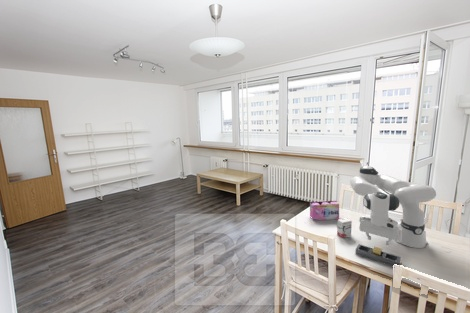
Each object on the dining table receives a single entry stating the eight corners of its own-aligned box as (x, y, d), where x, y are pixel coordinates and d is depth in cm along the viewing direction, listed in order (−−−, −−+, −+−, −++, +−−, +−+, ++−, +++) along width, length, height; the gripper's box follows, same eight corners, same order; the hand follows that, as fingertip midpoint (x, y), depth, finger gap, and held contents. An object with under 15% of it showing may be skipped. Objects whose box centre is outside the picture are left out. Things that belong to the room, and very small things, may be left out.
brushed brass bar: (372, 258, 134) (372, 249, 133) (374, 255, 137) (374, 246, 136) (380, 261, 131) (380, 251, 130) (381, 257, 134) (382, 248, 133)
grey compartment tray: (355, 254, 139) (355, 248, 139) (358, 249, 144) (358, 244, 144) (398, 268, 124) (398, 262, 123) (400, 262, 129) (400, 257, 128)
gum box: (336, 215, 196) (337, 200, 194) (340, 219, 188) (341, 203, 186) (309, 216, 196) (309, 201, 194) (312, 220, 188) (312, 205, 186)
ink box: (341, 238, 158) (342, 222, 157) (336, 234, 163) (337, 219, 161) (351, 235, 161) (352, 220, 159) (346, 232, 165) (346, 217, 164)
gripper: (358, 217, 135) (357, 238, 137) (399, 227, 121) (398, 250, 123) (361, 214, 140) (360, 234, 142) (401, 222, 125) (399, 245, 128)
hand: (378, 241), depth 132 cm, fingers open, 8 cm apart
